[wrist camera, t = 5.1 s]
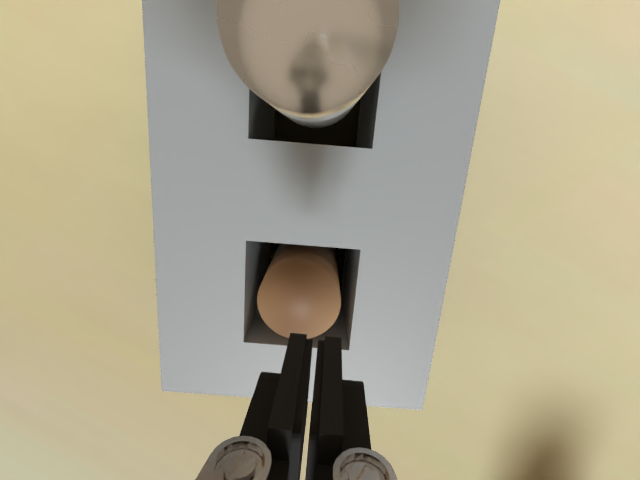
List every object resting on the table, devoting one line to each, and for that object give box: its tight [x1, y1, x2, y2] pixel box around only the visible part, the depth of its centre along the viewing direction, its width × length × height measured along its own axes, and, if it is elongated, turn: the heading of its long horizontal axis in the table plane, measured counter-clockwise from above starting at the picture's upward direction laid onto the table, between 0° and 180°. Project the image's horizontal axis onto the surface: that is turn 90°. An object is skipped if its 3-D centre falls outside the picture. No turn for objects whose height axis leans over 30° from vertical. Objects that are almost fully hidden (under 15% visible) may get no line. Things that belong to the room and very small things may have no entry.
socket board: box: [142, 0, 500, 410], centre depth 20 cm, size 14×22×8 cm, turn 175°
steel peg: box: [216, 0, 399, 128], centre depth 11 cm, size 4×4×8 cm
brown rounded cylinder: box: [257, 243, 341, 339], centre depth 20 cm, size 4×4×8 cm
